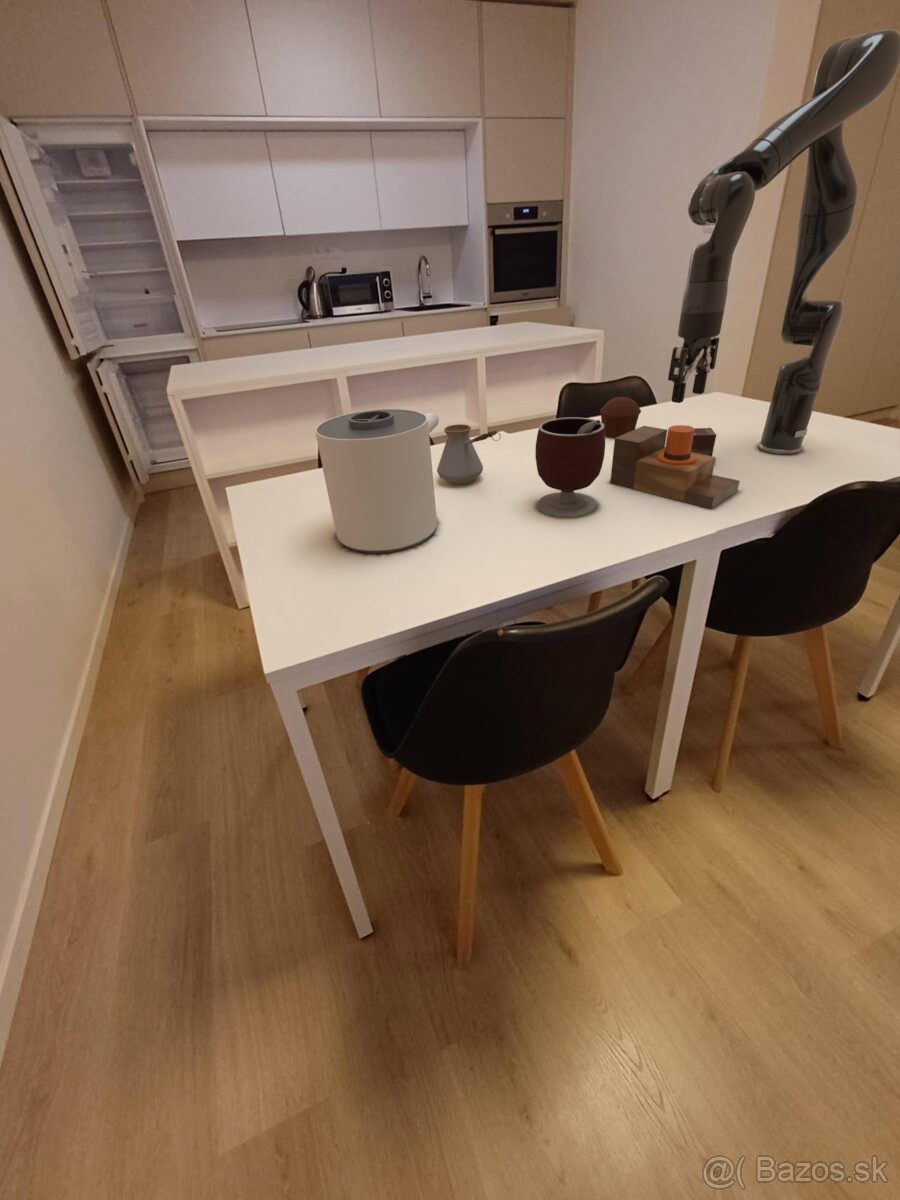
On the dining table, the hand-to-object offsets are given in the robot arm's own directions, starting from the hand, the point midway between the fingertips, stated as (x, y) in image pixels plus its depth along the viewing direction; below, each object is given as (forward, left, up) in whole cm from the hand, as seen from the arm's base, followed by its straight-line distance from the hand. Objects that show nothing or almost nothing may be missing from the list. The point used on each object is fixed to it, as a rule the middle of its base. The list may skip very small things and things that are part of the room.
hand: (687, 397), depth 108 cm
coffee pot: (+27, -37, -20) cm, 50 cm away
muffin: (-28, -32, -20) cm, 47 cm away
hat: (+1, 0, -13) cm, 13 cm away
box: (-19, -4, -20) cm, 27 cm away
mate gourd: (+23, -11, -20) cm, 32 cm away
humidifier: (+54, -32, -20) cm, 66 cm away
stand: (0, 0, -19) cm, 19 cm away
